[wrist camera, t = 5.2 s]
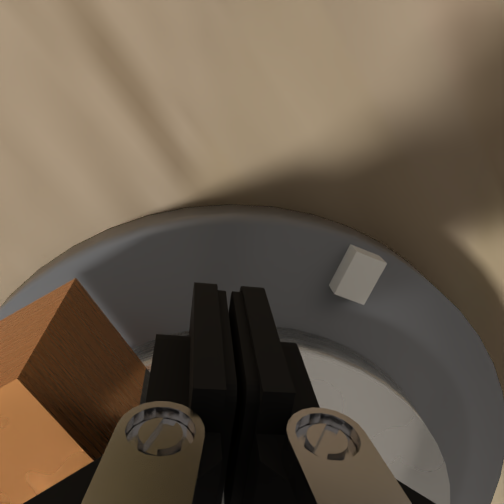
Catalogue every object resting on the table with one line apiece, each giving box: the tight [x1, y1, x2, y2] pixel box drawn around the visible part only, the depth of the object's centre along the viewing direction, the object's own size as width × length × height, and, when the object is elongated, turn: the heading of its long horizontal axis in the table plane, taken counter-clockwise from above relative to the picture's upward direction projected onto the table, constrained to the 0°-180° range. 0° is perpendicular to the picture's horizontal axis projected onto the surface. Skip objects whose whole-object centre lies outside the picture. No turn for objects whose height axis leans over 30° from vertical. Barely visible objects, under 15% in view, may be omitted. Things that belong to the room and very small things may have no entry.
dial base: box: [0, 204, 504, 504], centre depth 17 cm, size 20×20×3 cm
